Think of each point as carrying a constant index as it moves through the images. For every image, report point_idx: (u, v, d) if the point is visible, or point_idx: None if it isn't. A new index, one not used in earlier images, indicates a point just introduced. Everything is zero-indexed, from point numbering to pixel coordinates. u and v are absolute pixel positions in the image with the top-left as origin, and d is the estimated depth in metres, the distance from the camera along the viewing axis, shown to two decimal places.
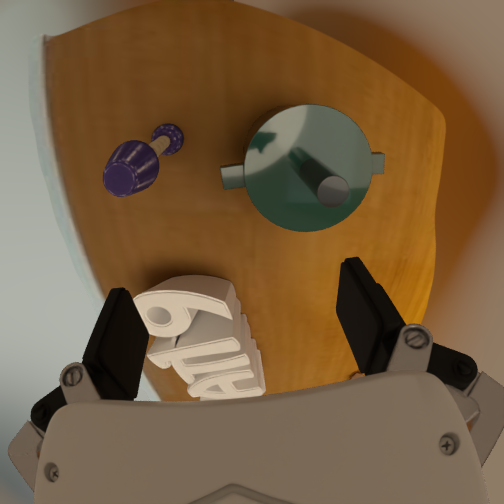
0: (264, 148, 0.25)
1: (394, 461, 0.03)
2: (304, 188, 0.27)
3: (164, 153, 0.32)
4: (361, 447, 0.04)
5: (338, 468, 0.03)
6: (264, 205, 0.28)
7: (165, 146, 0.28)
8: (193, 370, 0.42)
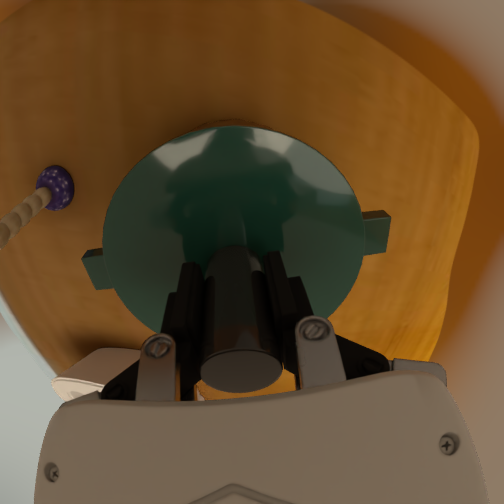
0: (131, 232, 0.12)
1: (394, 461, 0.03)
2: None
3: (51, 209, 0.19)
4: (361, 447, 0.04)
5: (338, 468, 0.03)
6: (155, 321, 0.15)
7: (35, 209, 0.16)
8: None
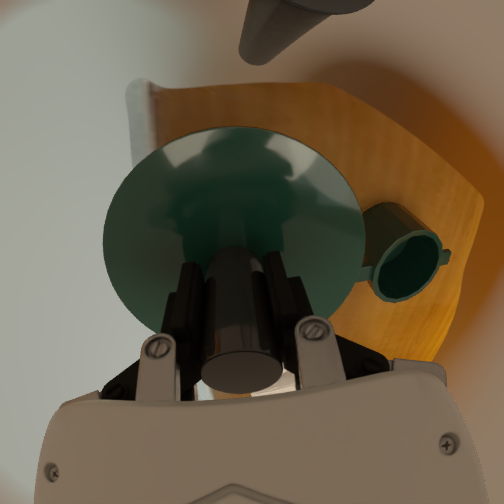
0: (131, 233, 0.12)
1: (394, 461, 0.03)
2: None
3: None
4: (361, 447, 0.04)
5: (338, 468, 0.03)
6: (156, 322, 0.15)
7: None
8: None
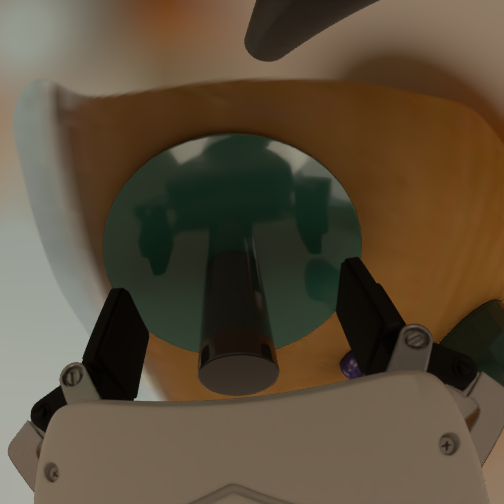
0: (131, 238, 0.12)
1: (394, 461, 0.03)
2: None
3: None
4: (361, 447, 0.04)
5: (338, 468, 0.03)
6: (155, 325, 0.15)
7: None
8: None
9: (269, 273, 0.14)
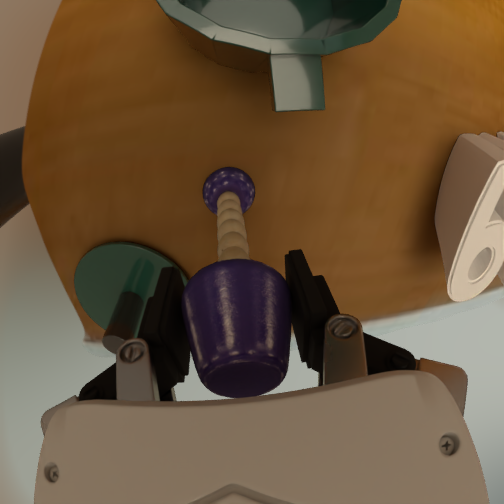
0: None
1: (394, 461, 0.03)
2: None
3: (250, 200, 0.21)
4: (361, 447, 0.04)
5: (338, 468, 0.03)
6: None
7: (231, 204, 0.18)
8: None
9: (127, 287, 0.25)
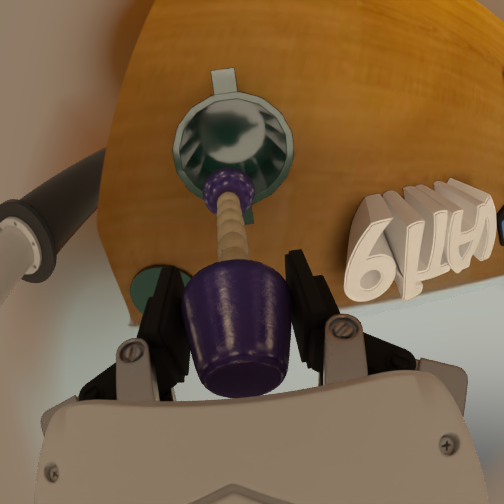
0: None
1: (394, 461, 0.03)
2: None
3: (250, 200, 0.21)
4: (361, 447, 0.04)
5: (338, 468, 0.03)
6: None
7: (231, 205, 0.18)
8: (435, 263, 0.38)
9: None
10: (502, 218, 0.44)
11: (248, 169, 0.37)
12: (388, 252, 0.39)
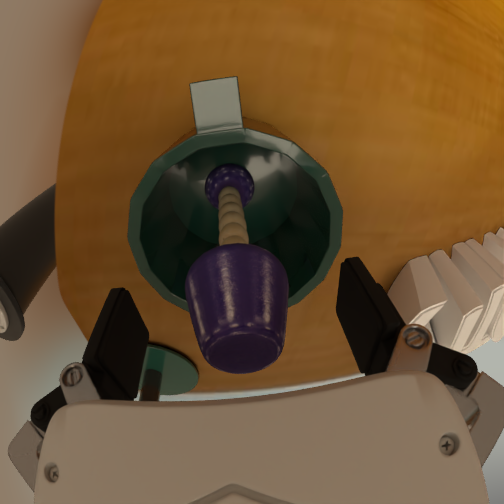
0: None
1: (394, 461, 0.03)
2: (165, 377, 0.37)
3: (250, 194, 0.22)
4: (361, 447, 0.04)
5: (338, 468, 0.03)
6: (182, 390, 0.39)
7: (232, 198, 0.19)
8: (478, 338, 0.26)
9: (150, 367, 0.35)
10: None
11: (257, 234, 0.26)
12: (430, 332, 0.28)
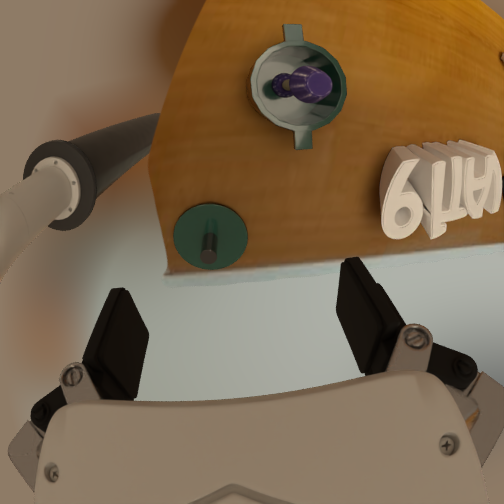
0: (200, 261, 0.52)
1: (394, 461, 0.03)
2: (220, 242, 0.50)
3: None
4: (361, 447, 0.04)
5: (338, 468, 0.03)
6: (230, 260, 0.53)
7: None
8: (455, 205, 0.40)
9: (209, 230, 0.49)
10: None
11: (299, 113, 0.40)
12: (416, 192, 0.42)
